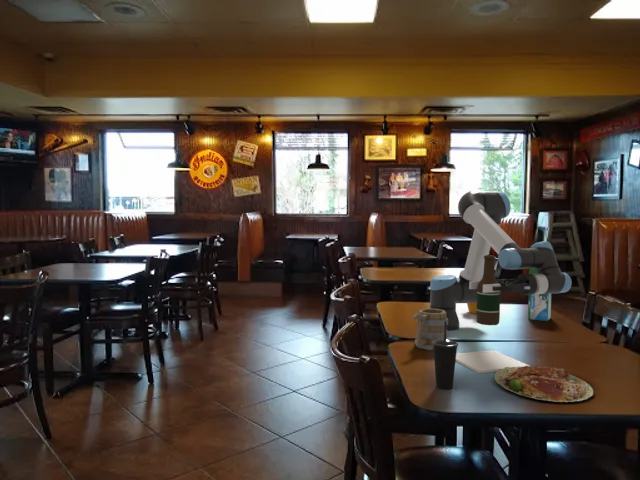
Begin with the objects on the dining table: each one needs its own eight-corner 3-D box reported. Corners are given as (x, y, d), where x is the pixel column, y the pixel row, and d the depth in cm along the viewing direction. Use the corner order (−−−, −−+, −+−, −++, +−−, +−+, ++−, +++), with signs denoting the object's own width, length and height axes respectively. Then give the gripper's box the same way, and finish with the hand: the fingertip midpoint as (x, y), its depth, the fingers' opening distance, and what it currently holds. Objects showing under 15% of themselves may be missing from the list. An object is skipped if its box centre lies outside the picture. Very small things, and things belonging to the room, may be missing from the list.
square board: (446, 356, 186) (446, 354, 186) (493, 352, 192) (493, 350, 192) (479, 373, 167) (479, 371, 167) (529, 368, 173) (529, 365, 173)
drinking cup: (428, 383, 157) (429, 319, 156) (452, 382, 158) (453, 319, 157) (435, 391, 150) (437, 324, 148) (461, 391, 150) (462, 324, 149)
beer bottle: (501, 326, 174) (502, 256, 172) (477, 325, 175) (478, 256, 174) (497, 321, 181) (499, 254, 180) (475, 320, 183) (476, 254, 181)
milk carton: (550, 318, 254) (552, 268, 252) (547, 321, 246) (549, 270, 245) (531, 315, 259) (532, 267, 257) (527, 319, 251) (529, 269, 250)
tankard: (427, 340, 209) (428, 304, 208) (454, 346, 200) (455, 308, 199) (398, 349, 195) (398, 310, 194) (425, 356, 186) (426, 315, 185)
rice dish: (607, 412, 139) (609, 393, 138) (502, 401, 143) (503, 382, 143) (575, 378, 166) (576, 362, 166) (487, 370, 171) (488, 354, 170)
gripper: (551, 299, 174) (494, 302, 167) (512, 290, 193) (460, 293, 186) (551, 277, 173) (494, 280, 166) (513, 270, 192) (460, 272, 185)
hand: (476, 286), depth 176 cm, fingers closed on beer bottle, 7 cm apart
